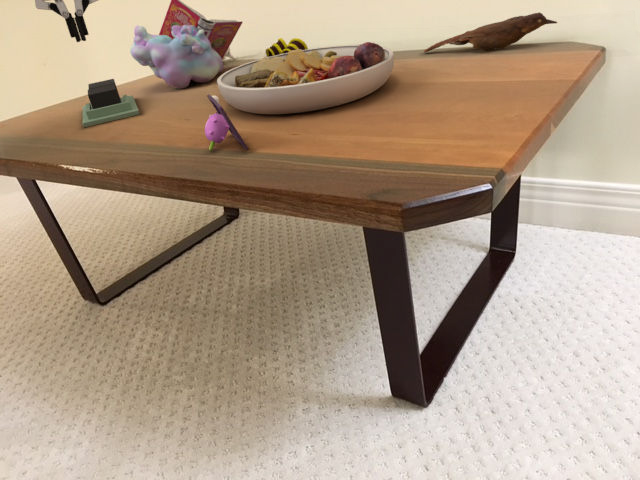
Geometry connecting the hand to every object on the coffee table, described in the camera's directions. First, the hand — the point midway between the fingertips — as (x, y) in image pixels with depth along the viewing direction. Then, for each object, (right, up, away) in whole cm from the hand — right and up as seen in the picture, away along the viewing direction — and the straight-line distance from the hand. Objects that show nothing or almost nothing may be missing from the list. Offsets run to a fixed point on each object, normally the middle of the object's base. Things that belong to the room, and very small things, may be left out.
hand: (81, 40), depth 96 cm
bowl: (+41, -10, -2) cm, 42 cm away
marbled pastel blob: (+14, 0, +25) cm, 29 cm away
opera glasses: (+35, +5, +27) cm, 45 cm away
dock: (+2, -11, +9) cm, 14 cm away
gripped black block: (+2, -11, +6) cm, 13 cm away
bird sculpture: (+75, +1, +8) cm, 75 cm away
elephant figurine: (+17, +9, +39) cm, 44 cm away
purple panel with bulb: (+29, -23, -21) cm, 43 cm away
